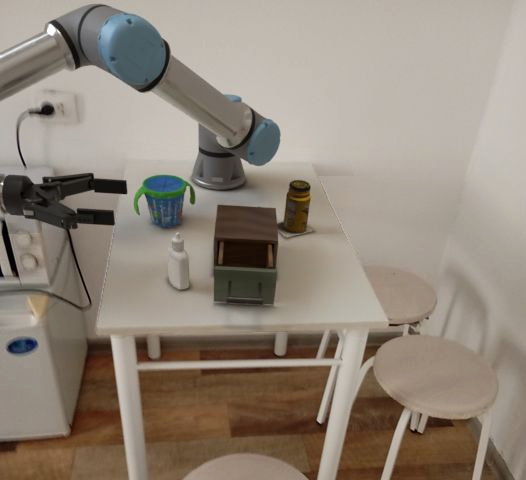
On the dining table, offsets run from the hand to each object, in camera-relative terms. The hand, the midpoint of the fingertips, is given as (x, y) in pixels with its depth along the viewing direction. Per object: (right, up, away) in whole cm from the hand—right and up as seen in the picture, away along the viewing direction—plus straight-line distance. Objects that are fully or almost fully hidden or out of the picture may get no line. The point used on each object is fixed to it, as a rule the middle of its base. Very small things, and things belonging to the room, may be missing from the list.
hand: (120, 202), depth 107 cm
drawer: (+23, -17, +10) cm, 30 cm away
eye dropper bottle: (+9, -14, +12) cm, 21 cm away
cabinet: (+23, -8, +22) cm, 33 cm away
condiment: (+35, +2, +35) cm, 50 cm away
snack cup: (+3, +4, +33) cm, 34 cm away
